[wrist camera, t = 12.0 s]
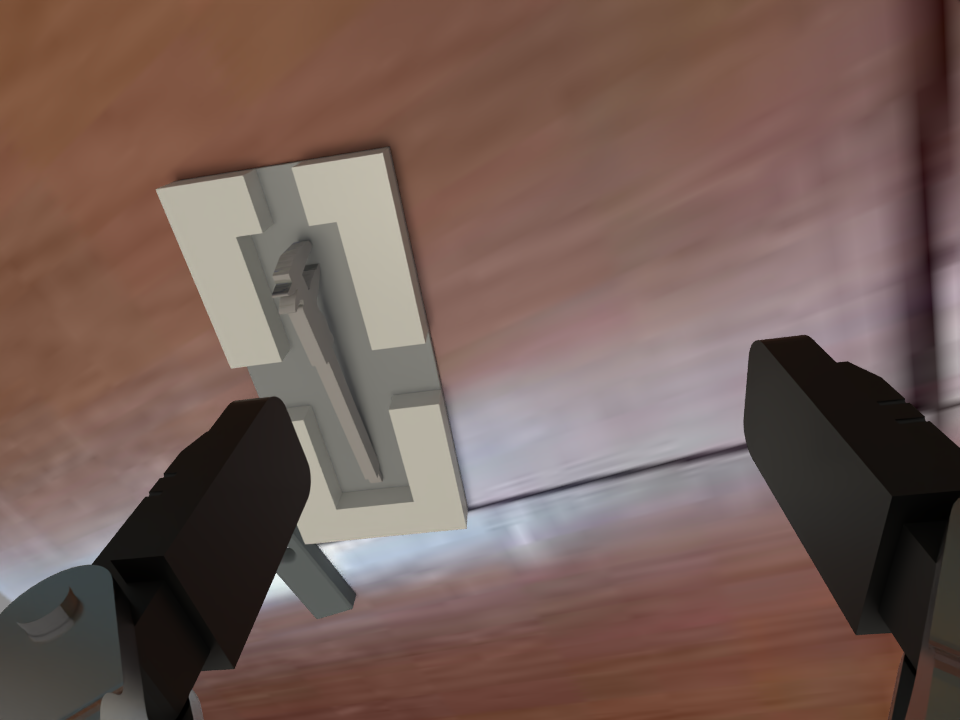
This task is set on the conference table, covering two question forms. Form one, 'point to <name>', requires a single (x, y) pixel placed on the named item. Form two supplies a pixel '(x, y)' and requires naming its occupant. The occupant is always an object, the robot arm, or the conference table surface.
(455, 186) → the conference table surface
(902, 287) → the conference table surface
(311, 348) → the caliper
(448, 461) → the case insert
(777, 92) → the conference table surface
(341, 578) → the bracket
